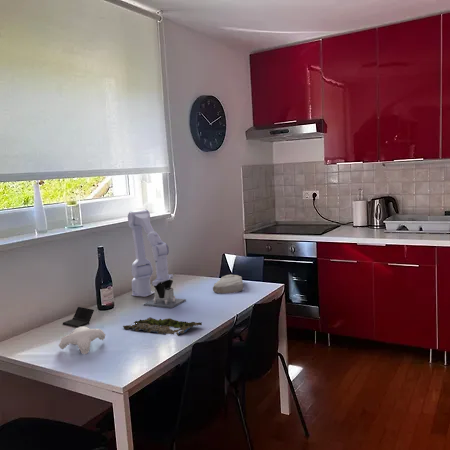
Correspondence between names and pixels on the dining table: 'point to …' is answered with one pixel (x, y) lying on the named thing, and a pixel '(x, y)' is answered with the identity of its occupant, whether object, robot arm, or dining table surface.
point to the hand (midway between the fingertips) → (164, 296)
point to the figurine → (82, 338)
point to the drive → (165, 294)
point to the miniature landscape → (161, 326)
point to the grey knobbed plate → (165, 303)
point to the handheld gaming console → (80, 317)
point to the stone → (229, 284)
